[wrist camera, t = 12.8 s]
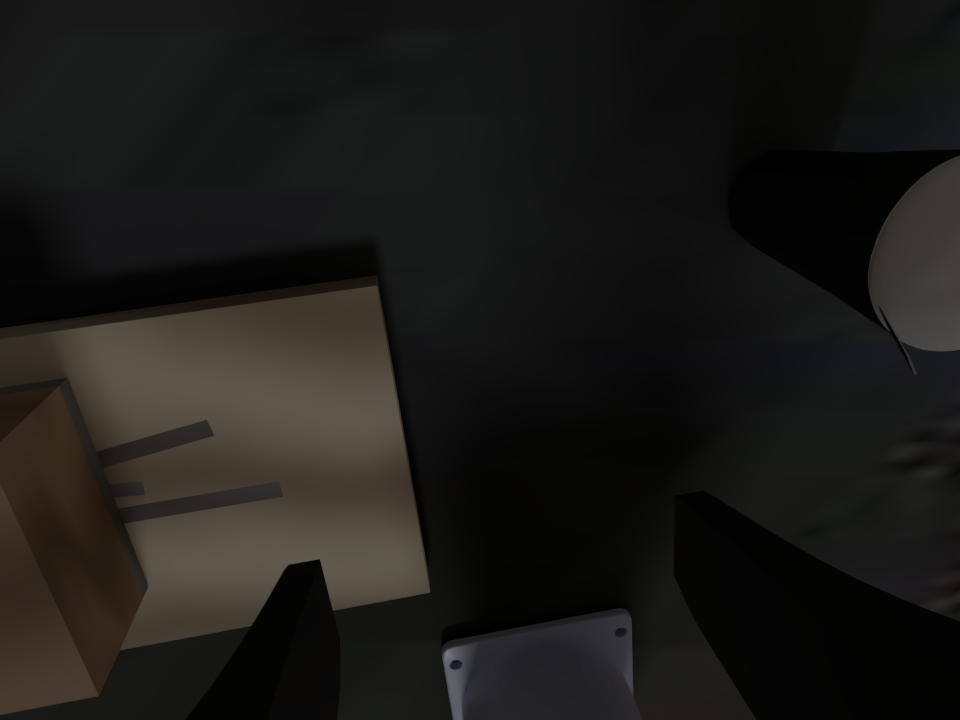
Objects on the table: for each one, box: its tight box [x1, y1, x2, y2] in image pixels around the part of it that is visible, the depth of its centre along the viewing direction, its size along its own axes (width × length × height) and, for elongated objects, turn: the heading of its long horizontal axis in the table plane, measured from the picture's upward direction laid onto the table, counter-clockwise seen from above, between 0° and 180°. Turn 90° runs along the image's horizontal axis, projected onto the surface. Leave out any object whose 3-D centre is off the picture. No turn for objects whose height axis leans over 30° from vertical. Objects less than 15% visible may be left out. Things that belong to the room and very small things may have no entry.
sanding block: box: [0, 378, 148, 715], centre depth 19 cm, size 8×4×4 cm, turn 6°
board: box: [0, 275, 430, 650], centre depth 22 cm, size 12×16×1 cm
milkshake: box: [729, 149, 960, 375], centre depth 18 cm, size 5×5×10 cm
